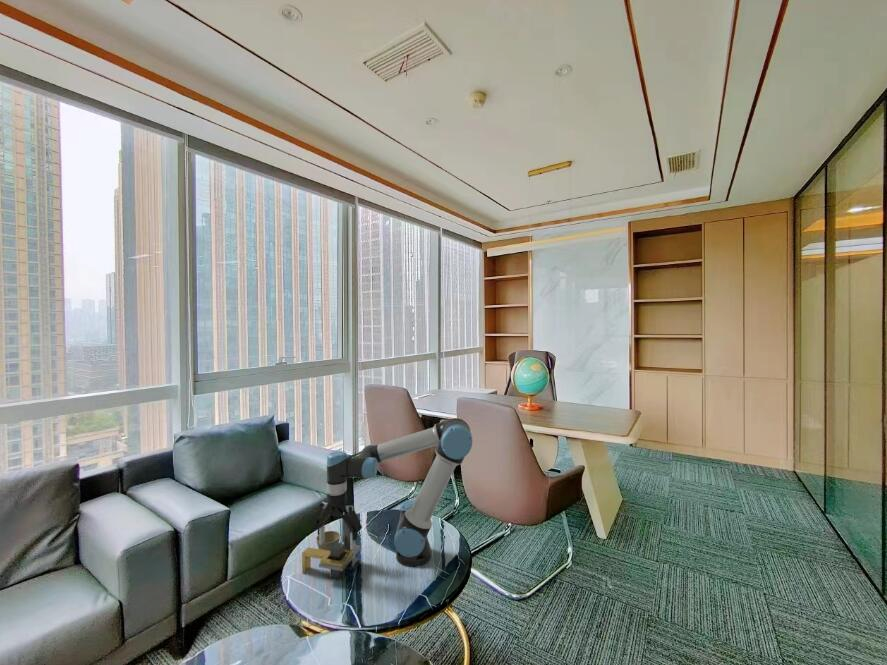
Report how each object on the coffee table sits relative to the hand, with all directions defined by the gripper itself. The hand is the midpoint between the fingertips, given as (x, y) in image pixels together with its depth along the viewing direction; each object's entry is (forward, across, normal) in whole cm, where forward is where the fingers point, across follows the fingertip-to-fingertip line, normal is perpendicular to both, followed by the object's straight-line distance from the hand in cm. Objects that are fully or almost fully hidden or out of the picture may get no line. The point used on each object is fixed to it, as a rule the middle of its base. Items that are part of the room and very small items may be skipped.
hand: (337, 545), depth 151 cm
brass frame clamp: (+12, +5, -3) cm, 14 cm away
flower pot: (+12, +12, -13) cm, 22 cm away
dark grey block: (+12, 0, 0) cm, 12 cm away
